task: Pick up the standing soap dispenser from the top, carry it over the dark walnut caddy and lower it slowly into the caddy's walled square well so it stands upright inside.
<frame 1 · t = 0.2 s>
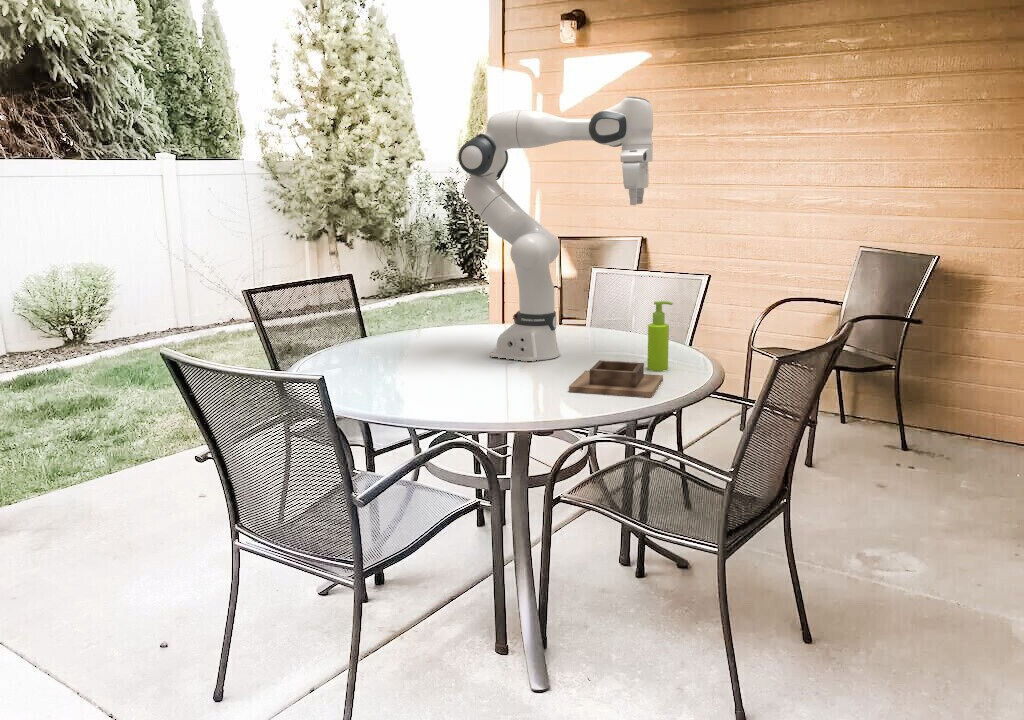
hand: (636, 204, 228), 47 cm above the table, tool pointing down, fingers open, 8 cm apart
caddy: (616, 386, 211), on the table
soap dispenser: (659, 369, 229), on the table
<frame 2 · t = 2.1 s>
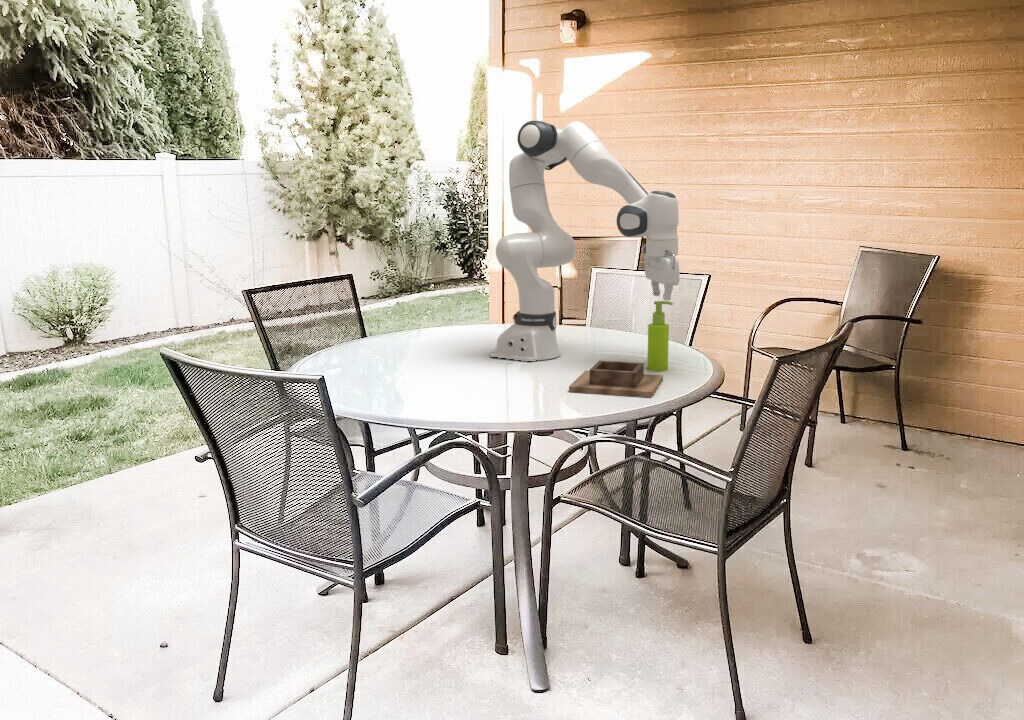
hand: (661, 298, 224), 21 cm above the table, tool pointing down, fingers open, 8 cm apart
nothing on the table moved.
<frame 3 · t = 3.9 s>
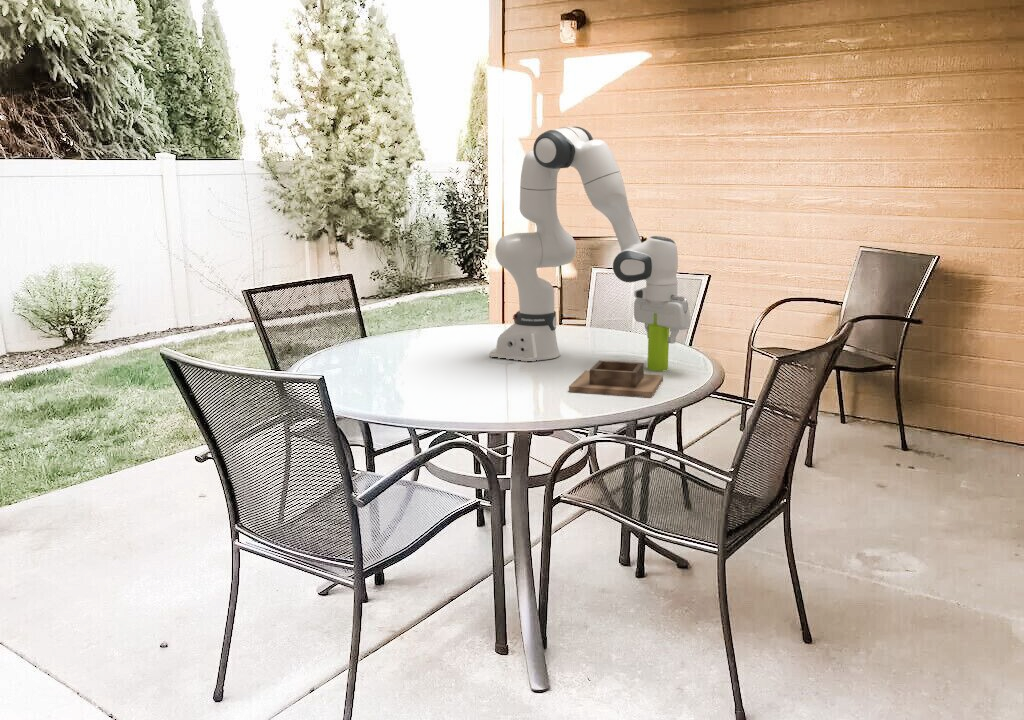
hand: (661, 340, 226), 8 cm above the table, tool pointing down, fingers open, 7 cm apart
soap dispenser: (659, 369, 229), on the table, touching arm, gripper
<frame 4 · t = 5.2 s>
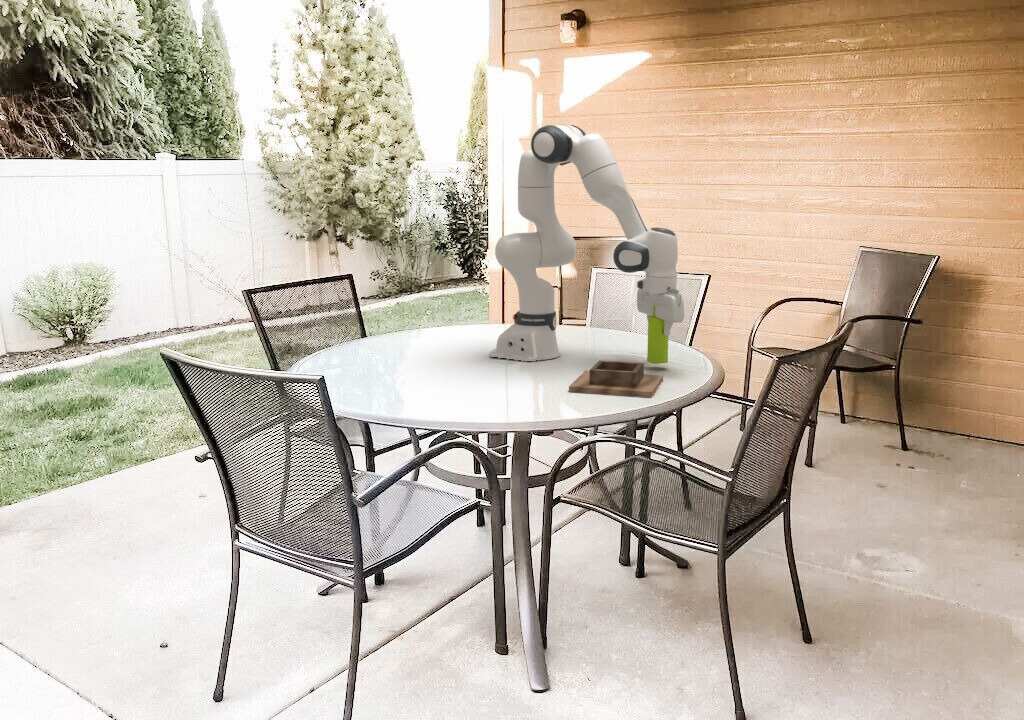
hand: (659, 332, 227), 11 cm above the table, tool pointing down, fingers closed on soap dispenser, 6 cm apart
soap dispenser: (659, 362, 228), point 2 cm above the table, touching arm, gripper
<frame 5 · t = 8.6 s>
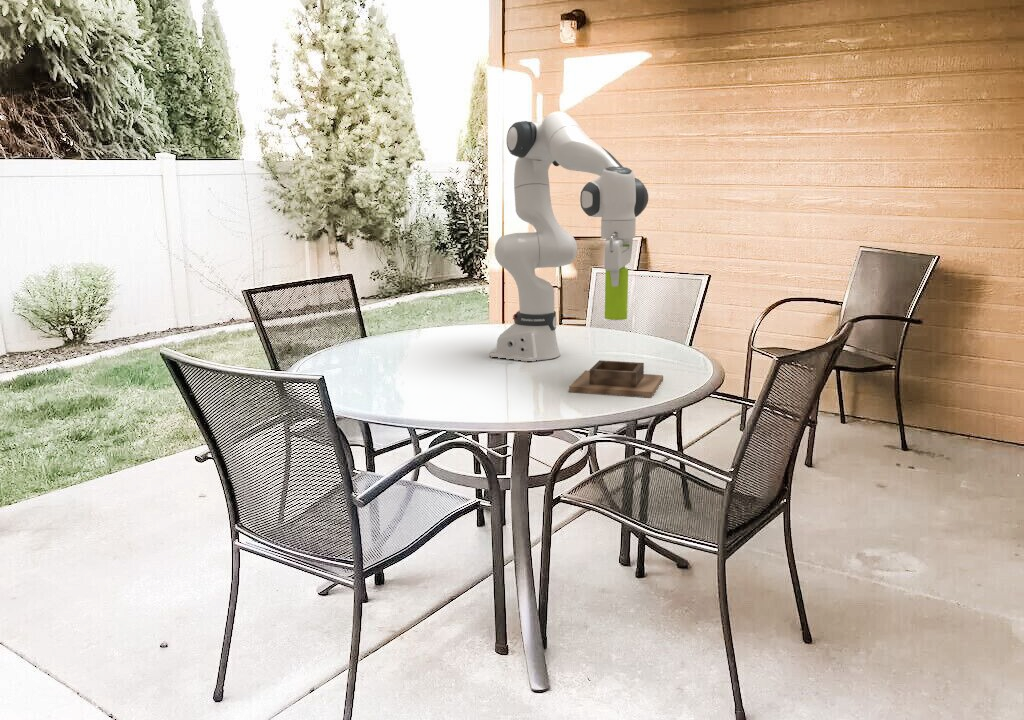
hand: (617, 284, 205), 28 cm above the table, tool pointing down, fingers closed on soap dispenser, 6 cm apart
soap dispenser: (617, 319, 207), point 18 cm above the table, touching gripper
when the fingers open (11 cm above the table, at t = 11.8 s): soap dispenser stays where it is, resting on caddy.
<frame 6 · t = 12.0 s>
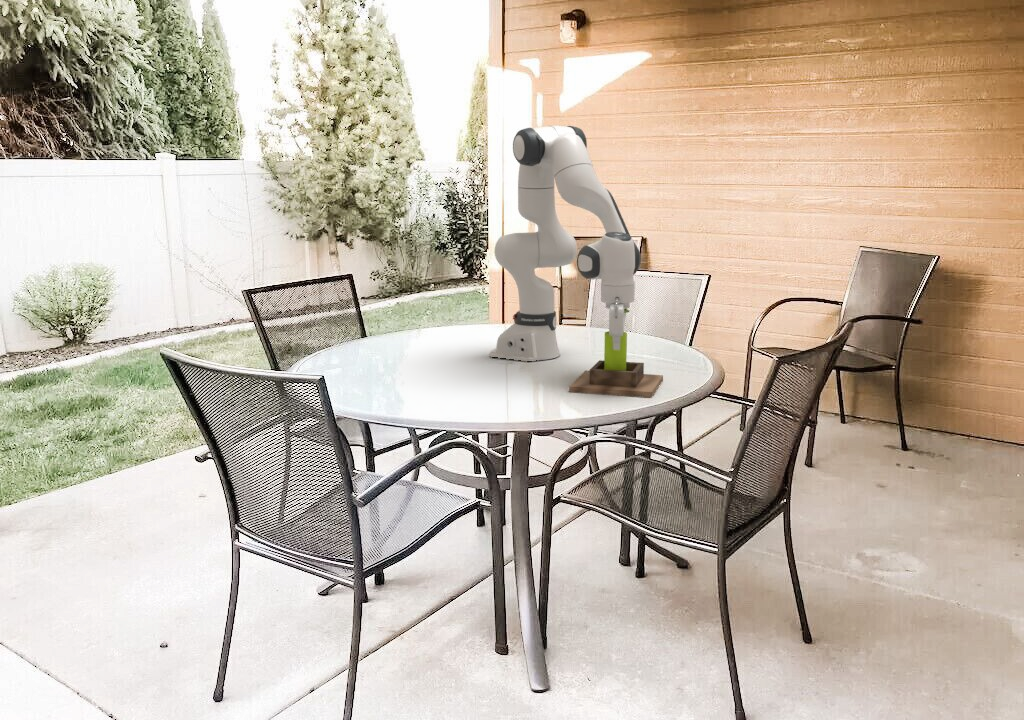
hand: (617, 346, 209), 11 cm above the table, tool pointing down, fingers open, 7 cm apart
soap dispenser: (616, 381, 211), point 1 cm above the table, touching caddy
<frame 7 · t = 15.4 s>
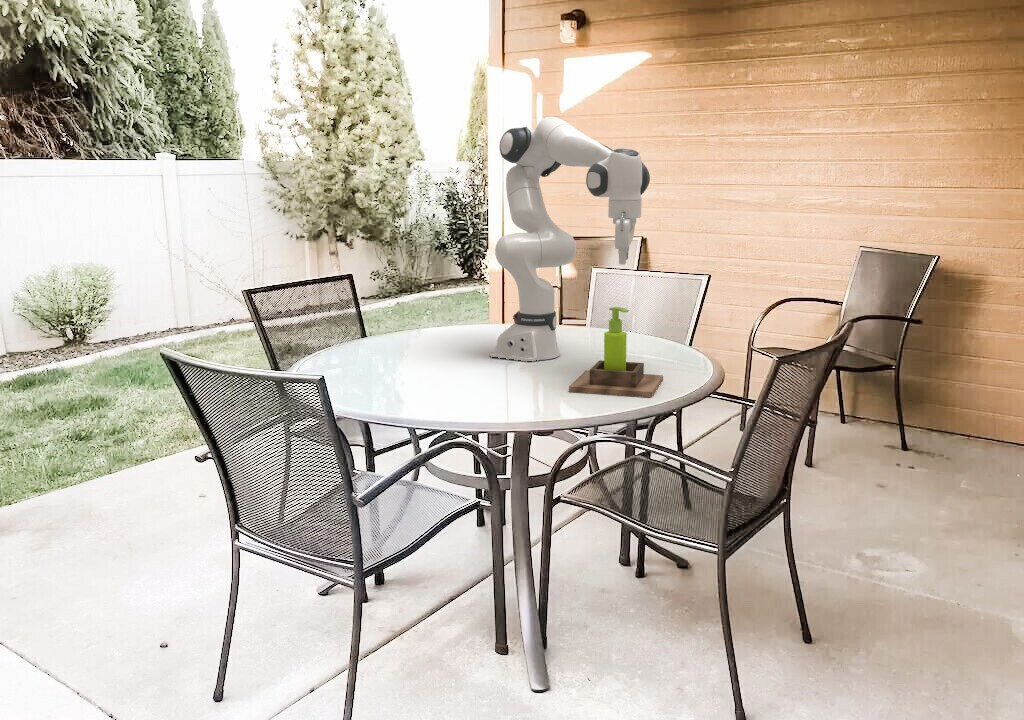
hand: (623, 261, 215), 32 cm above the table, tool pointing down, fingers open, 8 cm apart
nothing on the table moved.
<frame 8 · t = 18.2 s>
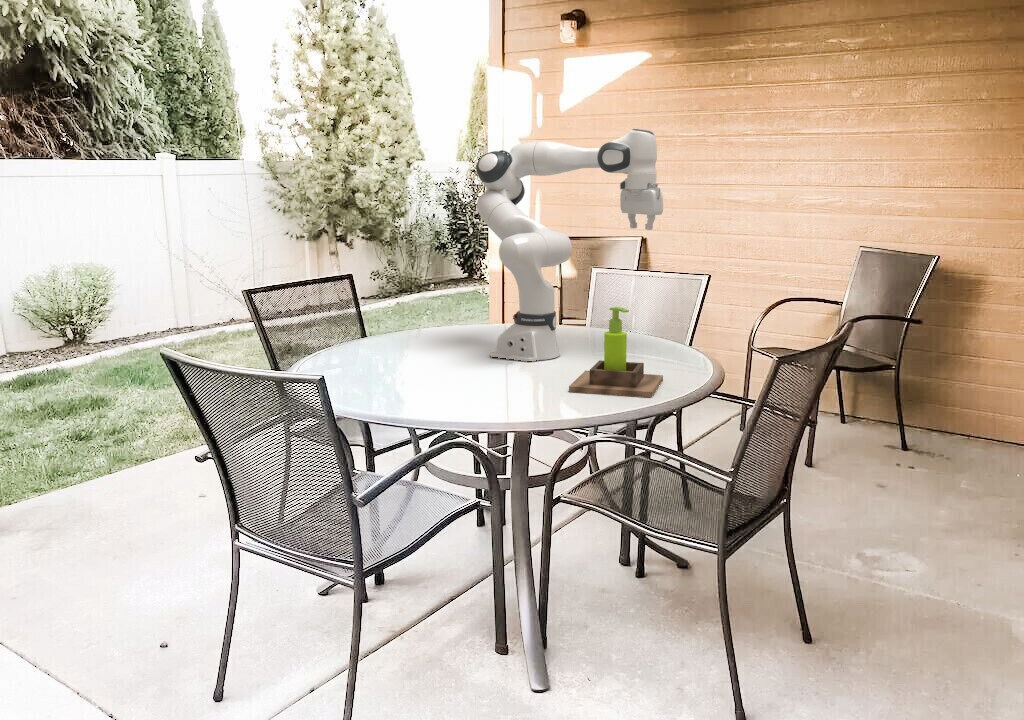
hand: (641, 229, 243), 39 cm above the table, tool pointing down, fingers open, 8 cm apart
nothing on the table moved.
at the end: soap dispenser 0.2 cm off-centre on the caddy, point 1.3 cm above the caddy's base; soap dispenser tilted 0°; the gripper is holding nothing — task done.
